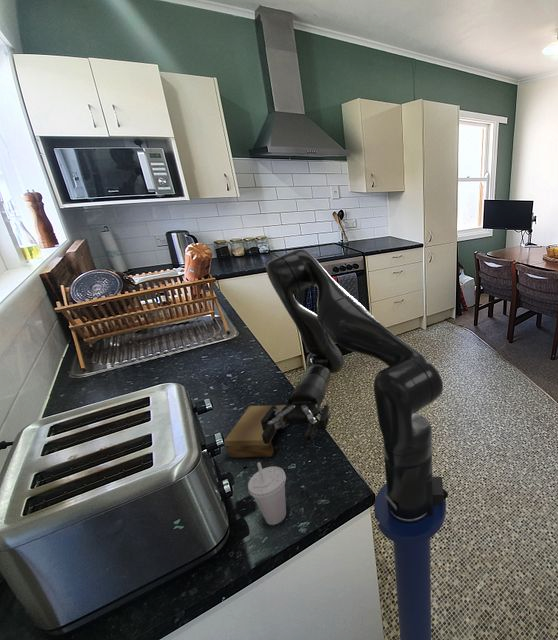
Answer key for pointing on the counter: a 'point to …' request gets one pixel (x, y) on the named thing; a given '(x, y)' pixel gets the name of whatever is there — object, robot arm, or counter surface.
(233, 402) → the counter surface
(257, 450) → the bench
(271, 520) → the smoothie
